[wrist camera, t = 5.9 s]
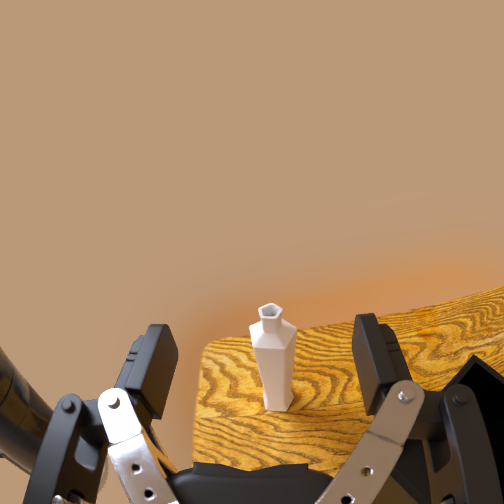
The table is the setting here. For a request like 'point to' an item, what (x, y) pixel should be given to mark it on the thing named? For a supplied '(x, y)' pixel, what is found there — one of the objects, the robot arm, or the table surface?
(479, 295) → the table surface
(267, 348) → the perfume bottle
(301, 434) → the table surface
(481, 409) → the open box
